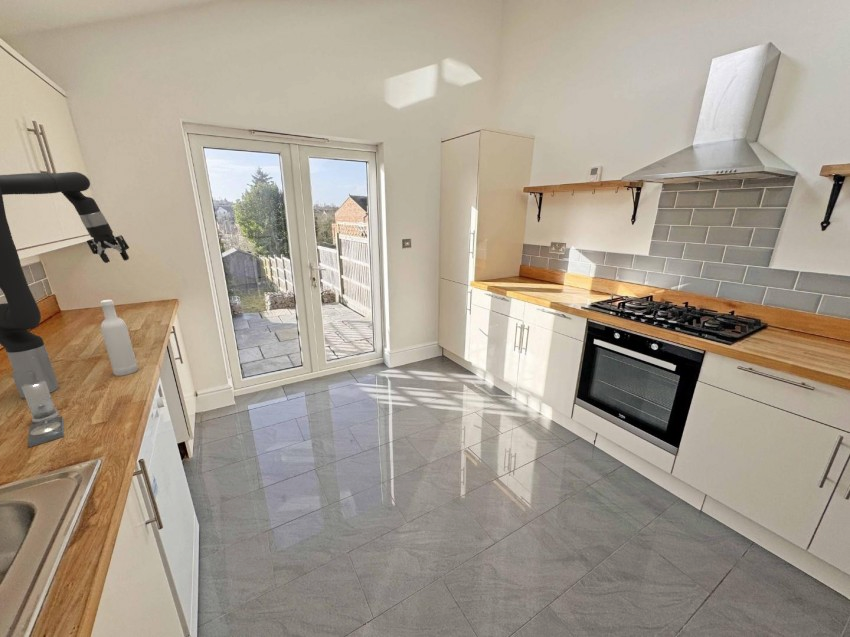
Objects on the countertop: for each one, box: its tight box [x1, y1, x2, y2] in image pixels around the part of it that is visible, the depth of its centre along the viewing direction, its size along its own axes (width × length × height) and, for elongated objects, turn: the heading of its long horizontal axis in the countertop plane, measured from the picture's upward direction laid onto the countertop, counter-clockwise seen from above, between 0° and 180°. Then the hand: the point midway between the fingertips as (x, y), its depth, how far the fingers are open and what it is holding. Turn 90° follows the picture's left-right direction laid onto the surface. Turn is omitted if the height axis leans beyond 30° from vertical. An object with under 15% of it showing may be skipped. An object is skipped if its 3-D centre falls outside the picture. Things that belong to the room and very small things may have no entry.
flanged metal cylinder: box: [21, 380, 60, 424], centre depth 114 cm, size 6×6×12 cm
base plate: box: [27, 415, 65, 448], centre depth 107 cm, size 12×7×2 cm, turn 44°
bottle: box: [100, 299, 139, 377], centre depth 143 cm, size 8×8×30 cm
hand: (117, 261), depth 157 cm, fingers open, 8 cm apart
